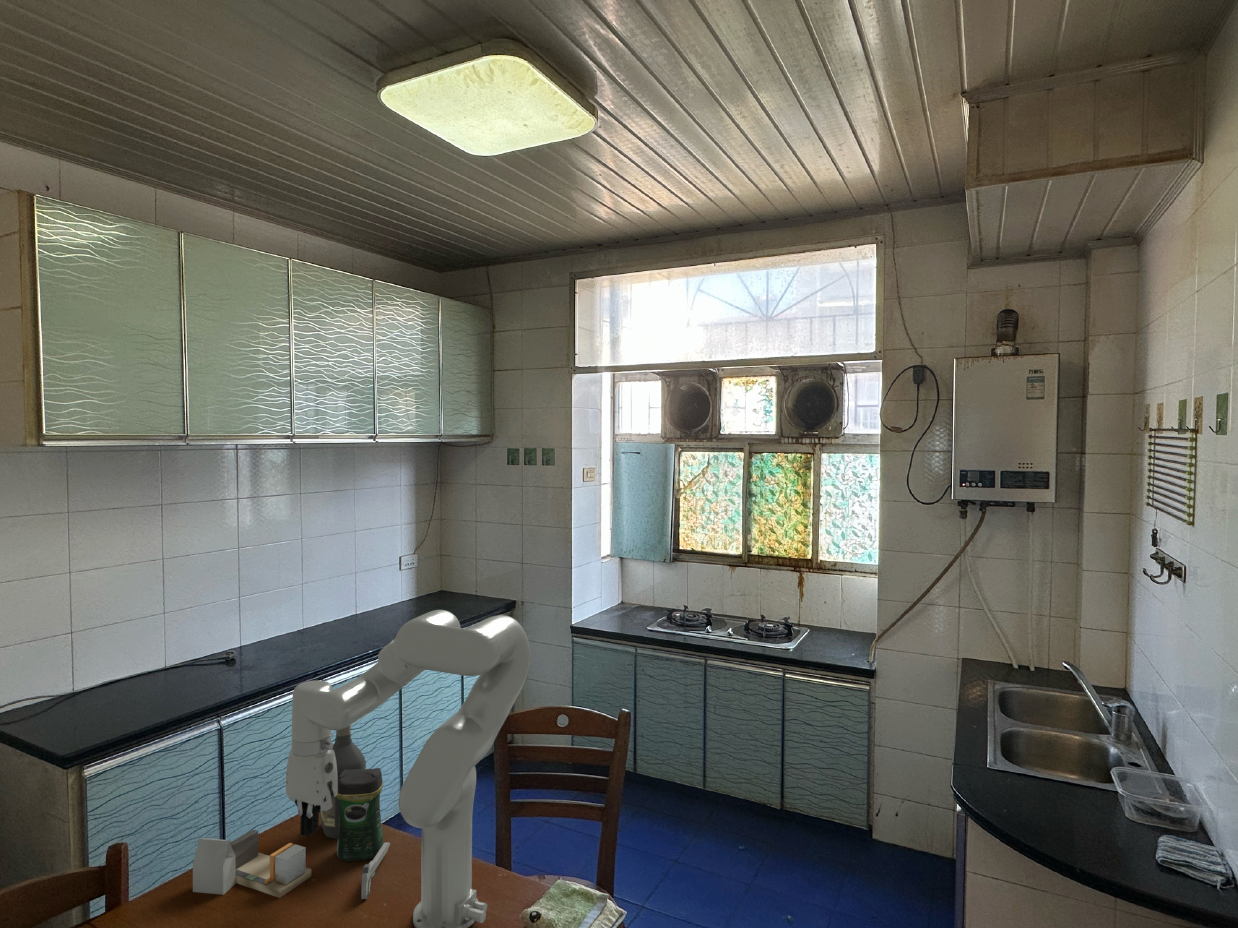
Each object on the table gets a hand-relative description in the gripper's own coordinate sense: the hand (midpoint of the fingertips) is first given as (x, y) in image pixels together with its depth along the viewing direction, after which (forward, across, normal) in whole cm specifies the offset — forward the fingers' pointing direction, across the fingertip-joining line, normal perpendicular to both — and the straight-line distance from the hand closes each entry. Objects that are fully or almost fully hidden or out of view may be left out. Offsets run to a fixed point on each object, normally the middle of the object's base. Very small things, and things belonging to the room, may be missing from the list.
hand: (309, 832), depth 144 cm
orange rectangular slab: (+10, +7, +1) cm, 13 cm away
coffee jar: (+12, 0, -15) cm, 20 cm away
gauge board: (+12, +11, 0) cm, 17 cm away
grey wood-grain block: (+10, +5, 0) cm, 12 cm away
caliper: (+12, -8, -11) cm, 18 cm away
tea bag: (+13, +19, +7) cm, 24 cm away
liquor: (+13, +12, -22) cm, 28 cm away
